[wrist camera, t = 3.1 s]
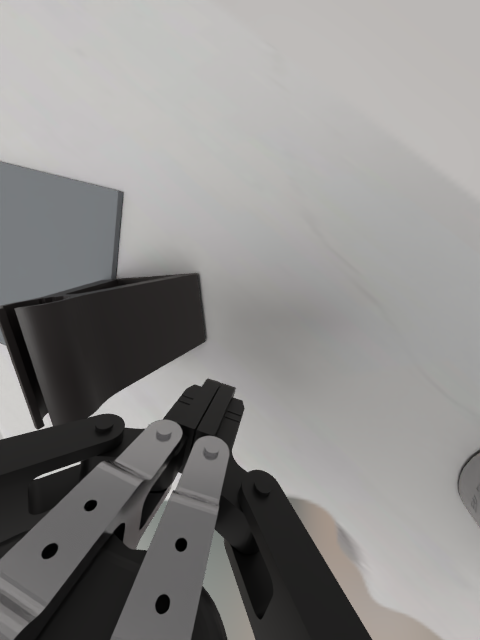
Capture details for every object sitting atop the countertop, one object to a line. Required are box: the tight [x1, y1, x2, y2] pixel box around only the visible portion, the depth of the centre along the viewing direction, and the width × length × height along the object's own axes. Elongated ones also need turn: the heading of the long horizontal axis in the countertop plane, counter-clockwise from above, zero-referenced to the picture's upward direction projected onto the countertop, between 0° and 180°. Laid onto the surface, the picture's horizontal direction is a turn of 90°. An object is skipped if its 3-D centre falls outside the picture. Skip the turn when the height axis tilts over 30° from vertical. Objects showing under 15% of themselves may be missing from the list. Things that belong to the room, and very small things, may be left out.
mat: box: [0, 162, 123, 345], centre depth 24 cm, size 13×18×1 cm
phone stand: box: [0, 273, 206, 429], centre depth 17 cm, size 9×6×12 cm, turn 94°
